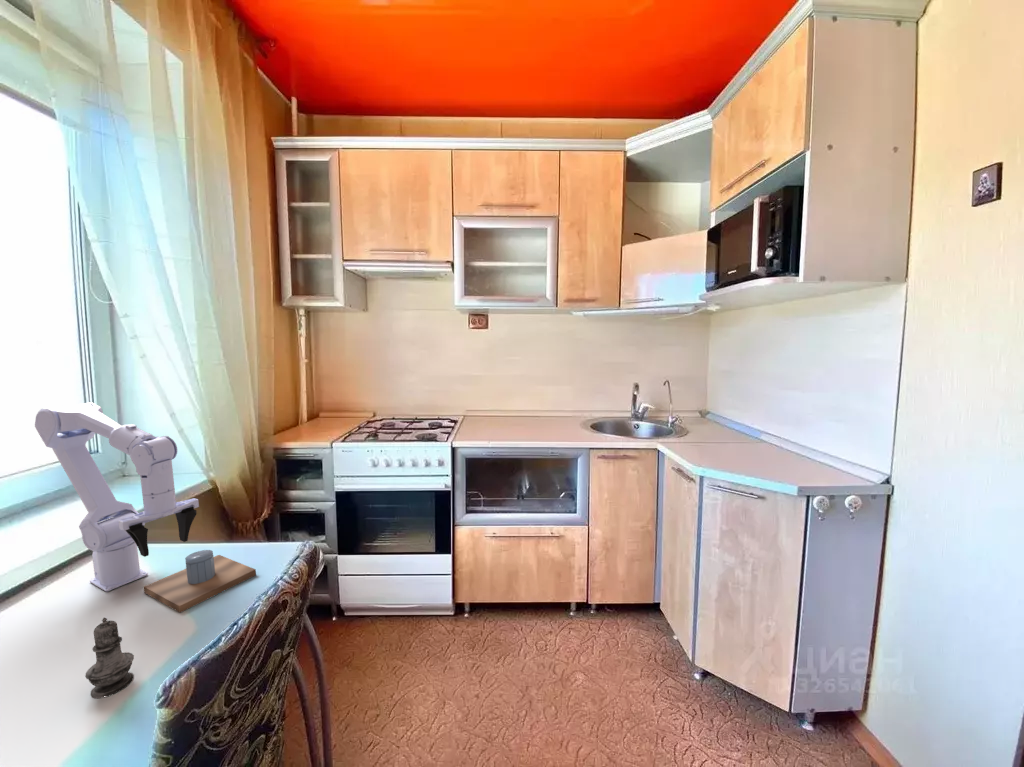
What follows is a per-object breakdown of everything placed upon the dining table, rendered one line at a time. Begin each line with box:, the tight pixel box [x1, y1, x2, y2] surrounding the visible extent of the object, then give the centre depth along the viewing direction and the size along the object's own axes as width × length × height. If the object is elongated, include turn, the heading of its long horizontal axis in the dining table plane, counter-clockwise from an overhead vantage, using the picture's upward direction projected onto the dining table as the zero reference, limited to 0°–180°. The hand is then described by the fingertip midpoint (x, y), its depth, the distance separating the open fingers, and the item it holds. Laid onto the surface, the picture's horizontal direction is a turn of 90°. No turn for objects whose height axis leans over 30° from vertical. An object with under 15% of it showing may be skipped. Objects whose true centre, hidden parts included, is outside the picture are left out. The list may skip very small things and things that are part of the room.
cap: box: [185, 549, 215, 584], centre depth 100 cm, size 5×5×6 cm
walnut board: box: [143, 554, 257, 613], centre depth 100 cm, size 16×16×4 cm
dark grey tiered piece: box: [84, 617, 135, 699], centre depth 70 cm, size 6×6×12 cm
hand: (164, 547), depth 99 cm, fingers open, 7 cm apart
